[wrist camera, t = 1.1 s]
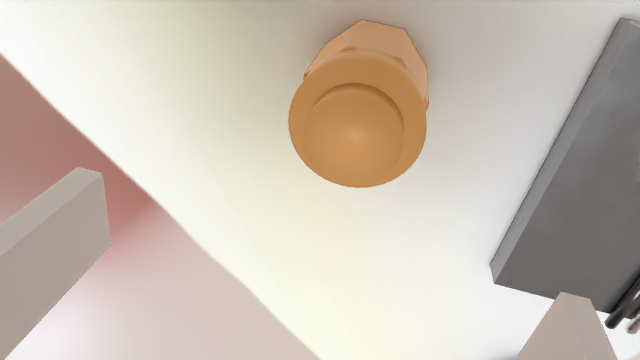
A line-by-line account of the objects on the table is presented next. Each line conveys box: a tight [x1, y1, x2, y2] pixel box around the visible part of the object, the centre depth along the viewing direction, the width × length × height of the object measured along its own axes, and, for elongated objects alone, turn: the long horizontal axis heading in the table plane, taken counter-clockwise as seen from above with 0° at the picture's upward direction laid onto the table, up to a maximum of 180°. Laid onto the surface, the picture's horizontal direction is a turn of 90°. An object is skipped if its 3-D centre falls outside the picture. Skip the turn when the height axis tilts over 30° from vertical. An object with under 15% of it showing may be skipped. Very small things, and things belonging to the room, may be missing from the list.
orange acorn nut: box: [288, 20, 429, 188], centre depth 23 cm, size 6×6×10 cm
